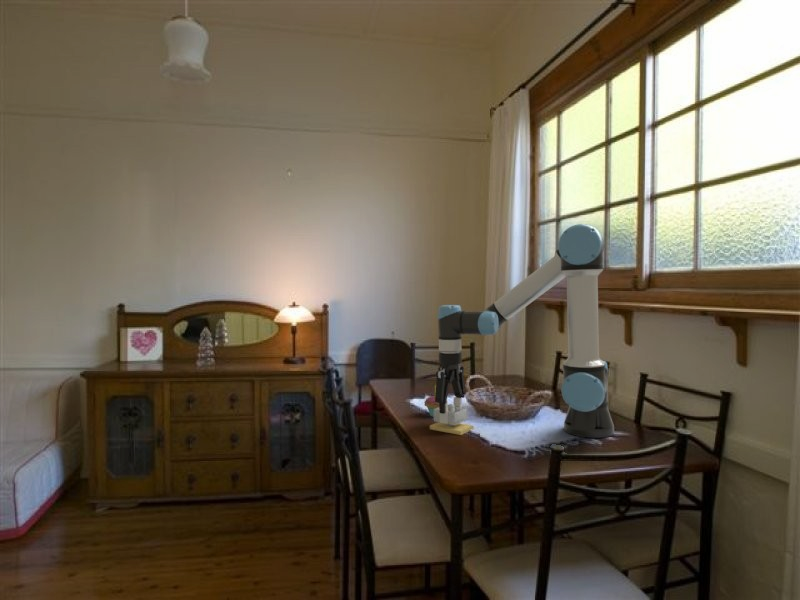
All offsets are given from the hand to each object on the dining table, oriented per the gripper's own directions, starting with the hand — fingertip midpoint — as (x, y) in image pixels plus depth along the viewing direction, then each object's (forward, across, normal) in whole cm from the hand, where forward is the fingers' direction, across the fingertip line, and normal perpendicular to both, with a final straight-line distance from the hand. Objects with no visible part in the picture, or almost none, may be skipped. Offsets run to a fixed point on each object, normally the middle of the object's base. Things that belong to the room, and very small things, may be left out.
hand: (450, 419), depth 168 cm
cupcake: (+3, -12, -14) cm, 19 cm away
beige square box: (0, 0, 0) cm, 0 cm away
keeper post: (+3, 0, 0) cm, 3 cm away
